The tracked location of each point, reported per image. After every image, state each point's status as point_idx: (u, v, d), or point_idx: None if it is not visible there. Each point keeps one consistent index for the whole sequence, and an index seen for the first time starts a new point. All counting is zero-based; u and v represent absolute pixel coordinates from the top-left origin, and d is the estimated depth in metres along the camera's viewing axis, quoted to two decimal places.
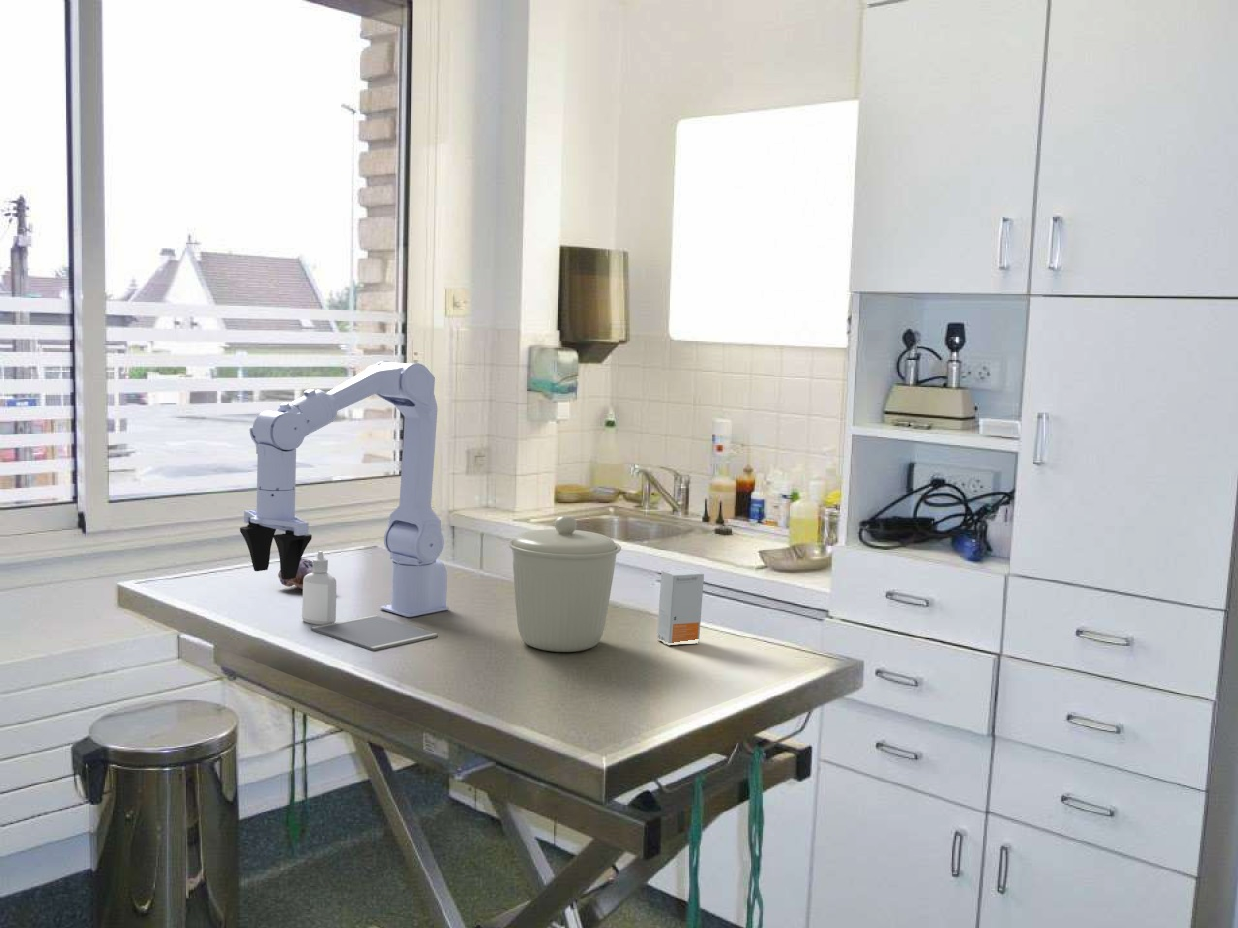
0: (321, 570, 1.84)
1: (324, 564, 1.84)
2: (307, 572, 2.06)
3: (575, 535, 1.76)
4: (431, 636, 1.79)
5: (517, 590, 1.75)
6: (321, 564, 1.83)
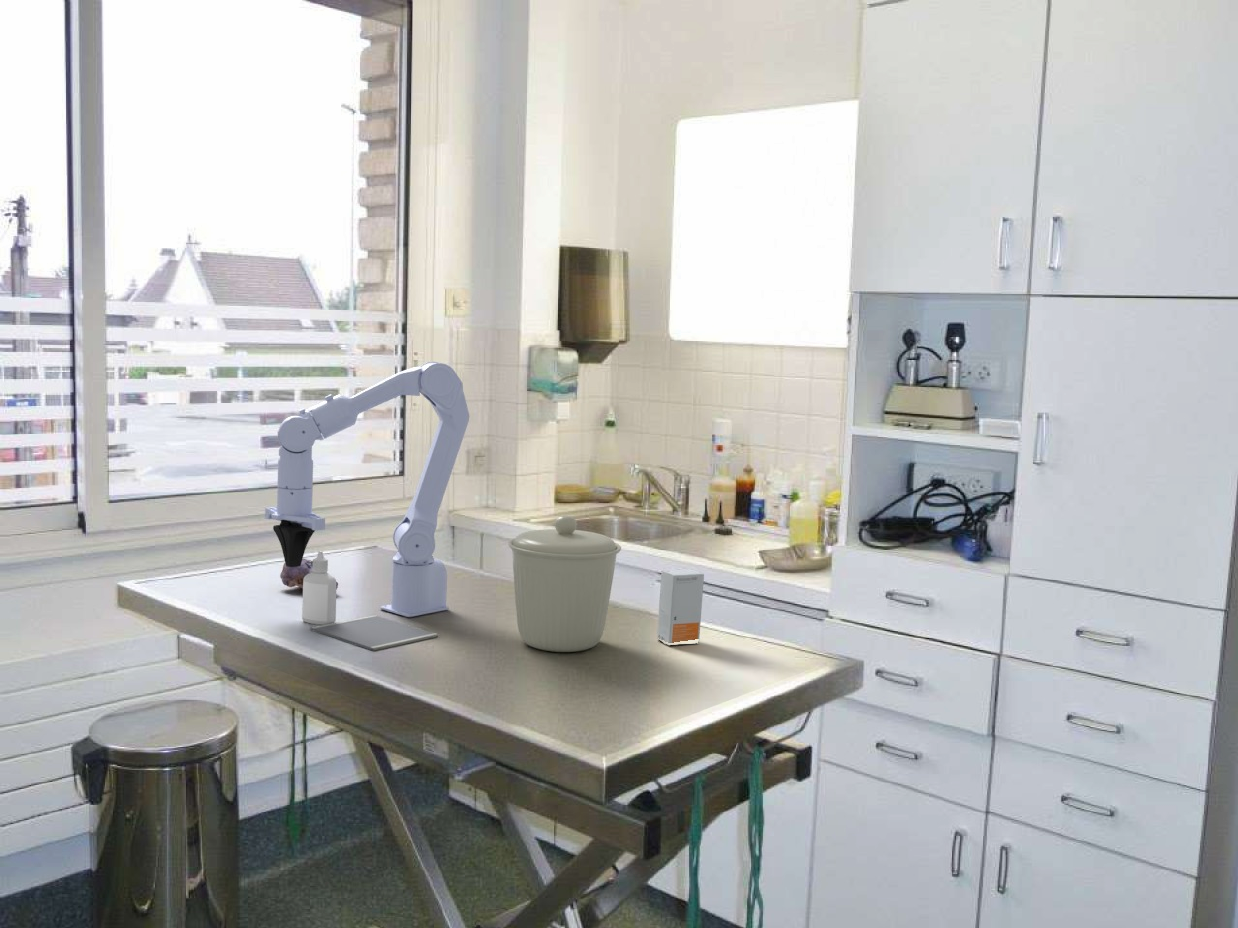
0: (321, 570, 1.84)
1: (324, 564, 1.84)
2: (309, 573, 2.05)
3: (575, 535, 1.76)
4: (431, 636, 1.79)
5: (517, 590, 1.75)
6: (321, 564, 1.83)
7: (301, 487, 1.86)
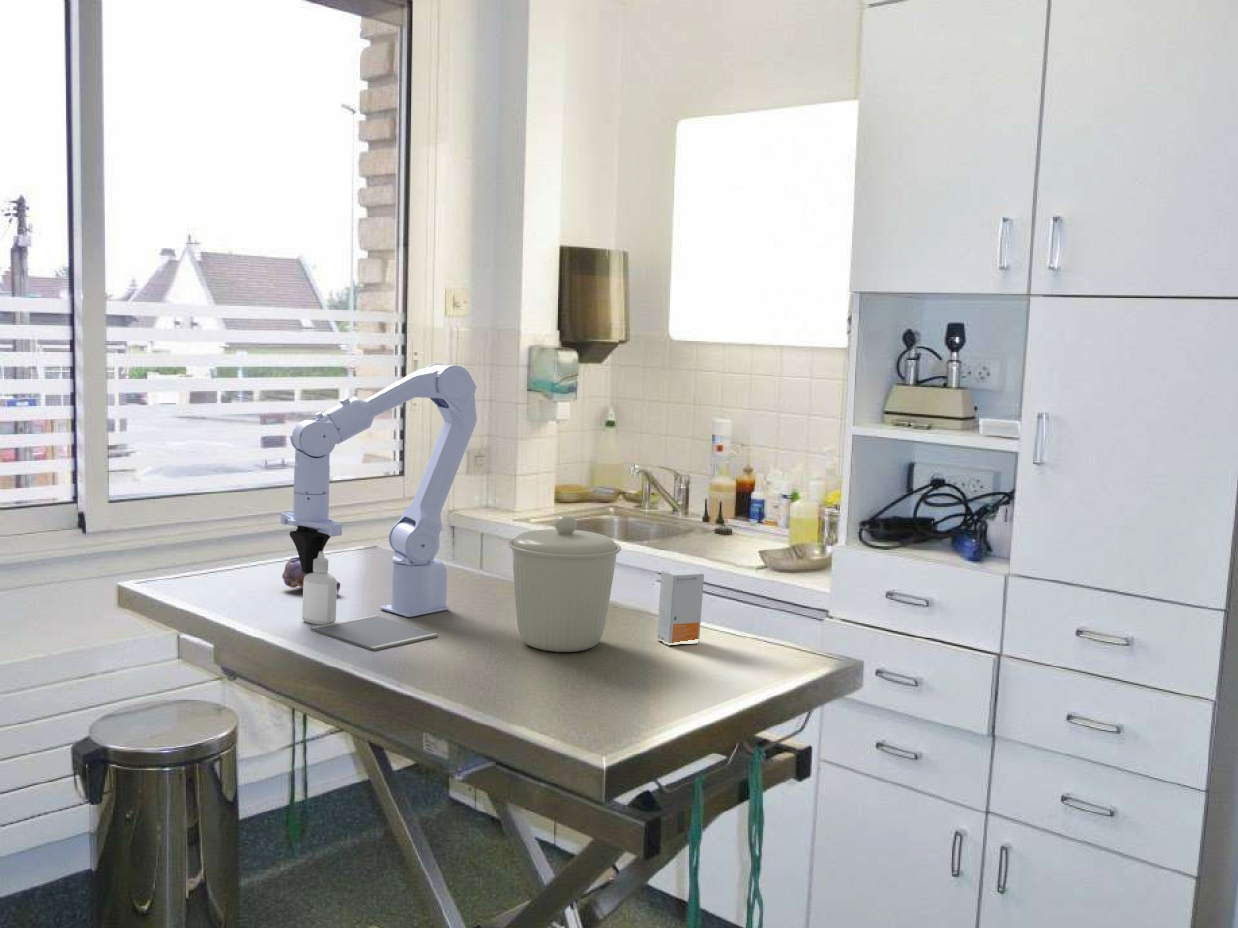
0: (321, 570, 1.83)
1: (324, 565, 1.84)
2: None
3: (575, 535, 1.76)
4: (431, 636, 1.79)
5: (517, 590, 1.75)
6: (321, 564, 1.83)
7: (321, 492, 1.83)
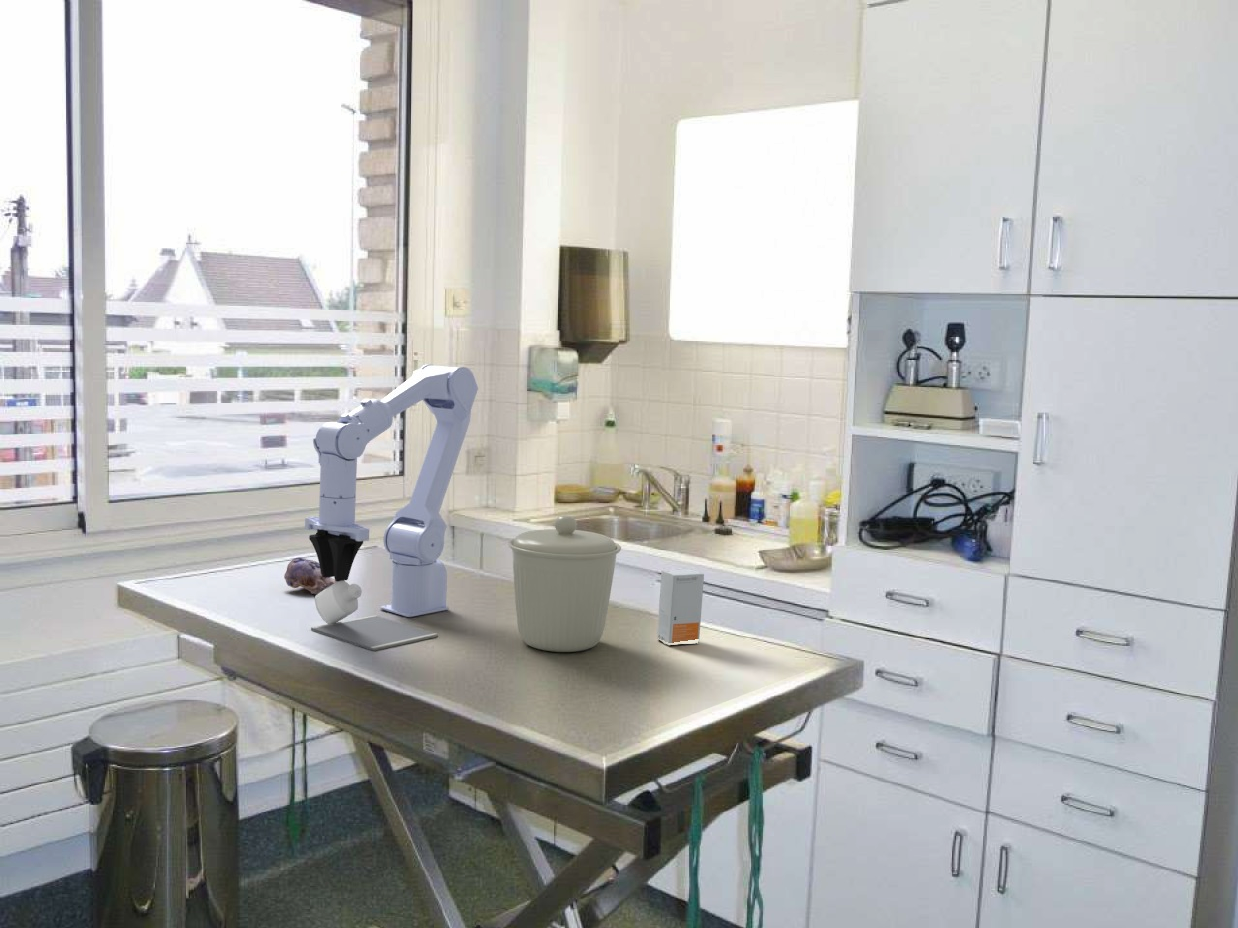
0: (349, 600, 1.78)
1: (354, 599, 1.77)
2: (313, 573, 2.05)
3: (575, 535, 1.76)
4: (431, 636, 1.79)
5: (517, 590, 1.75)
6: (351, 598, 1.77)
7: (353, 495, 1.80)
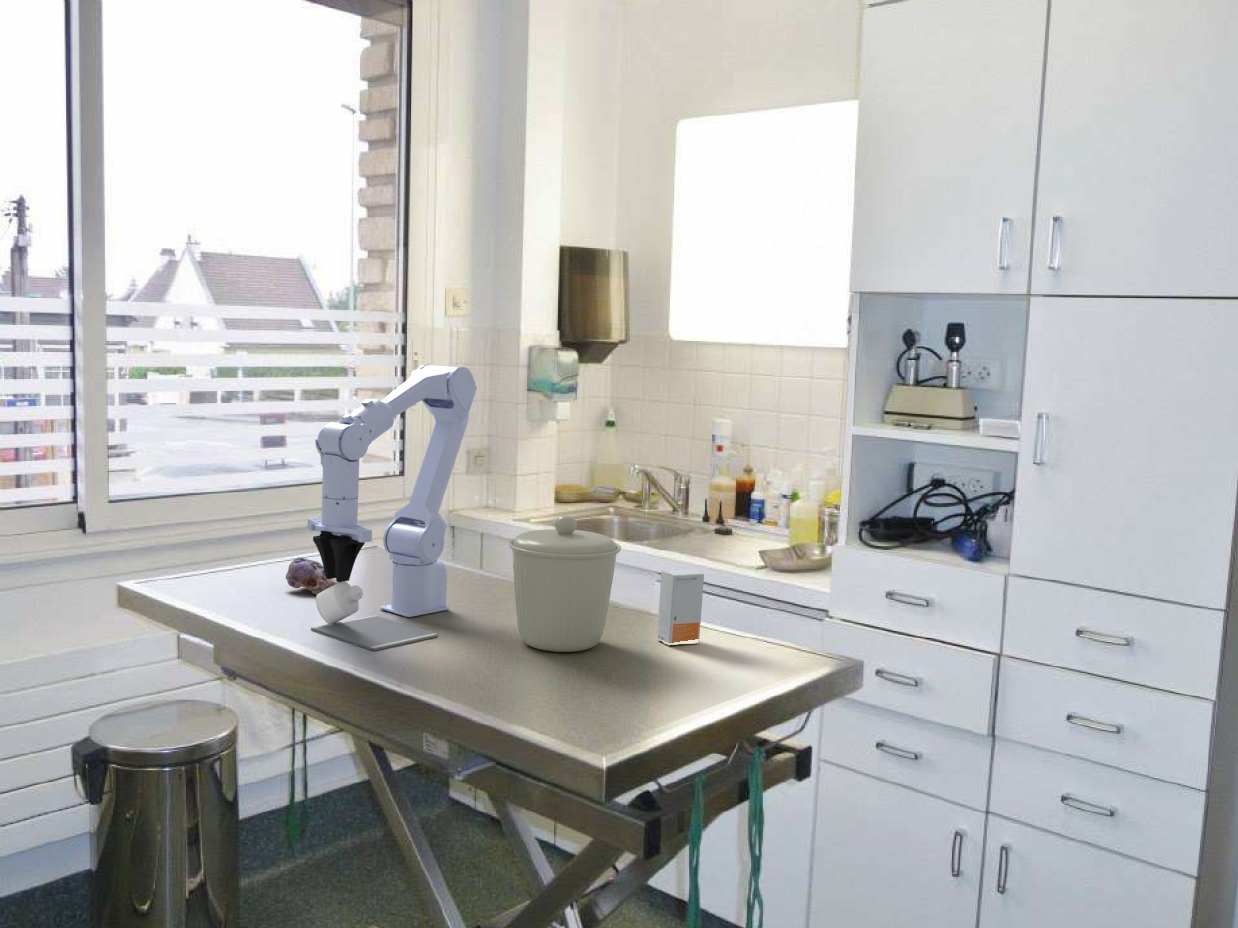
0: (349, 601, 1.78)
1: (354, 601, 1.77)
2: (315, 574, 2.05)
3: (575, 535, 1.76)
4: (431, 636, 1.79)
5: (517, 590, 1.75)
6: (352, 600, 1.77)
7: (356, 496, 1.79)
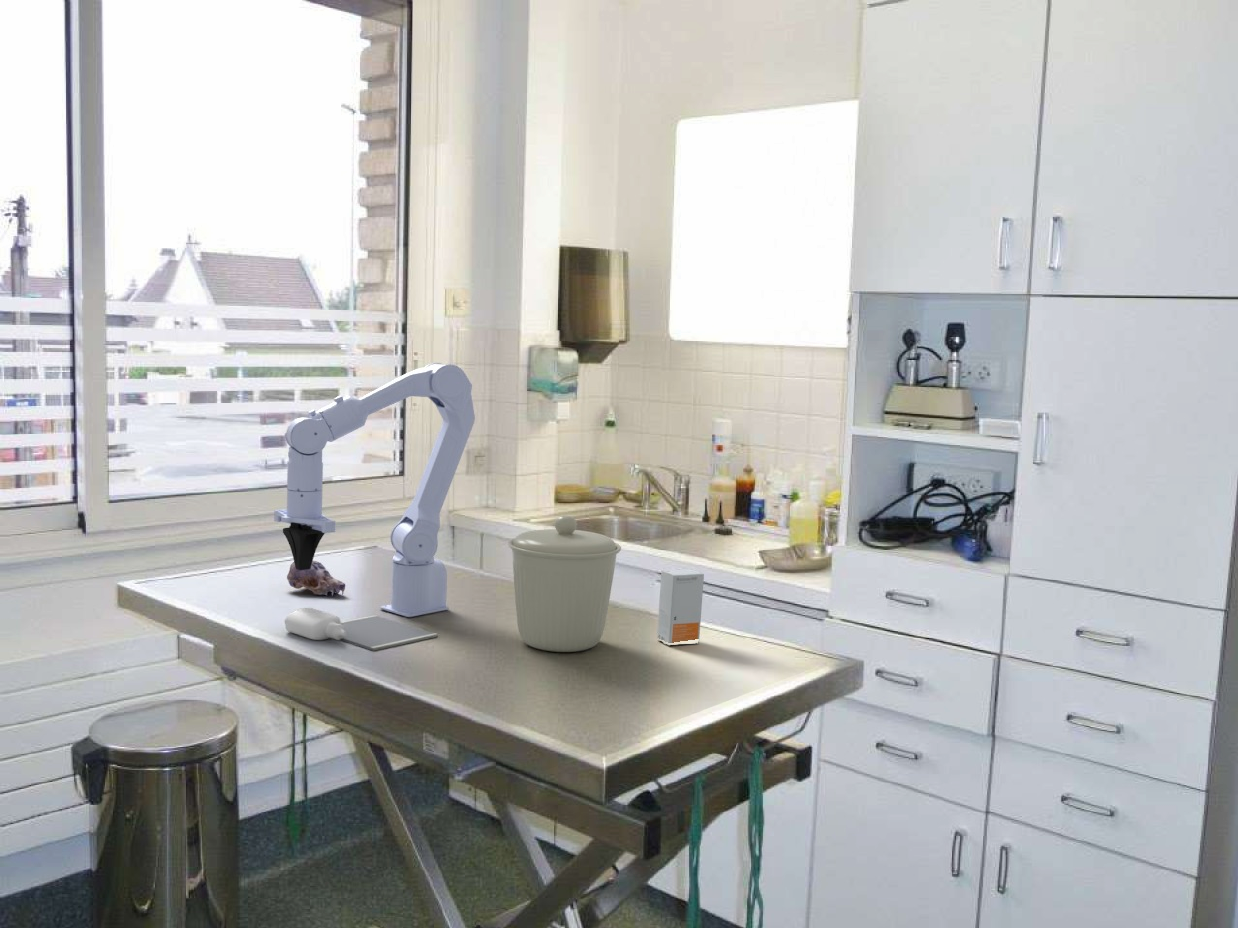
0: None
1: None
2: (316, 574, 2.05)
3: (575, 535, 1.76)
4: (431, 636, 1.79)
5: (517, 590, 1.75)
6: None
7: (313, 489, 1.84)
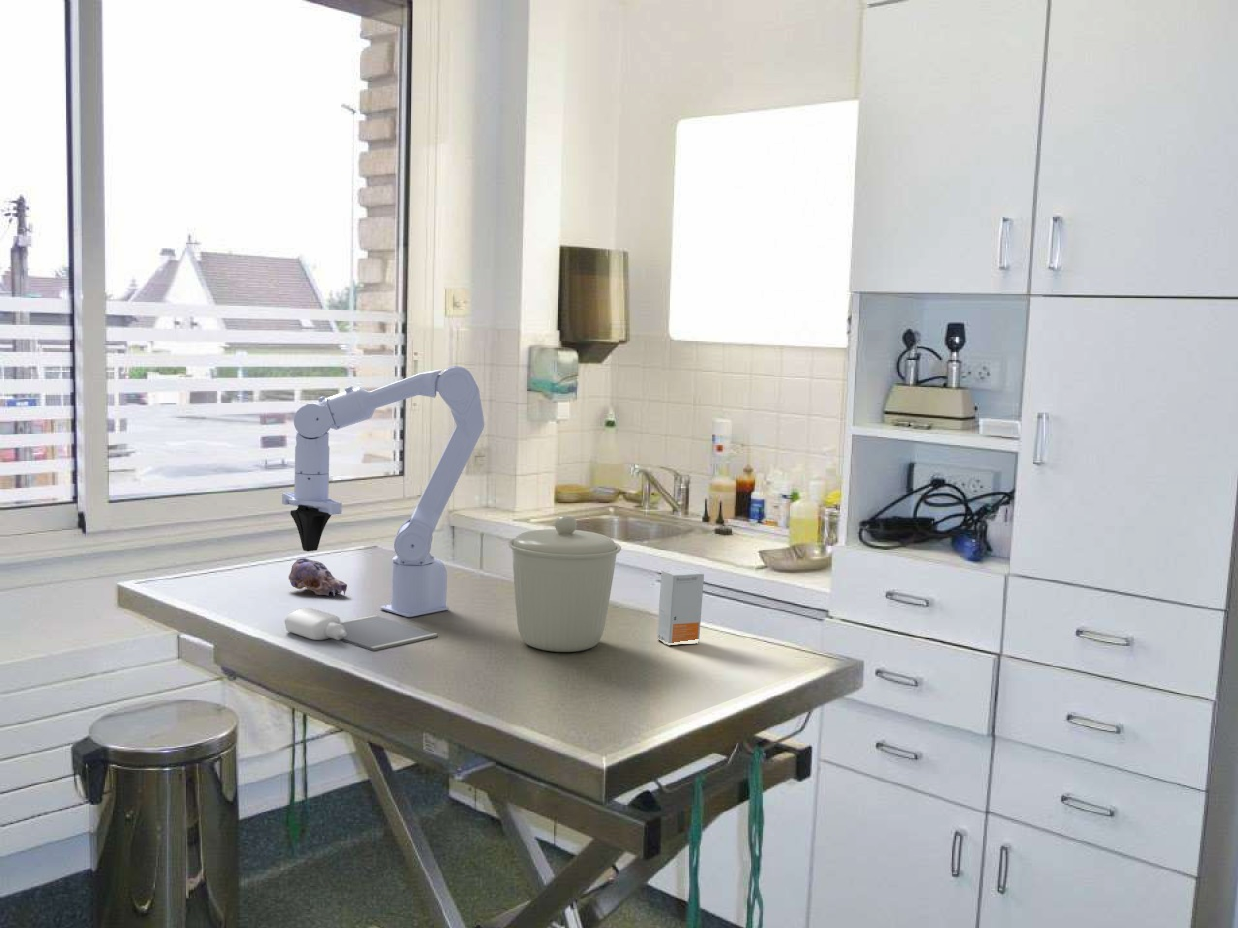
0: None
1: None
2: (318, 574, 2.04)
3: (575, 535, 1.76)
4: (431, 636, 1.79)
5: (517, 590, 1.75)
6: None
7: (315, 472, 1.89)
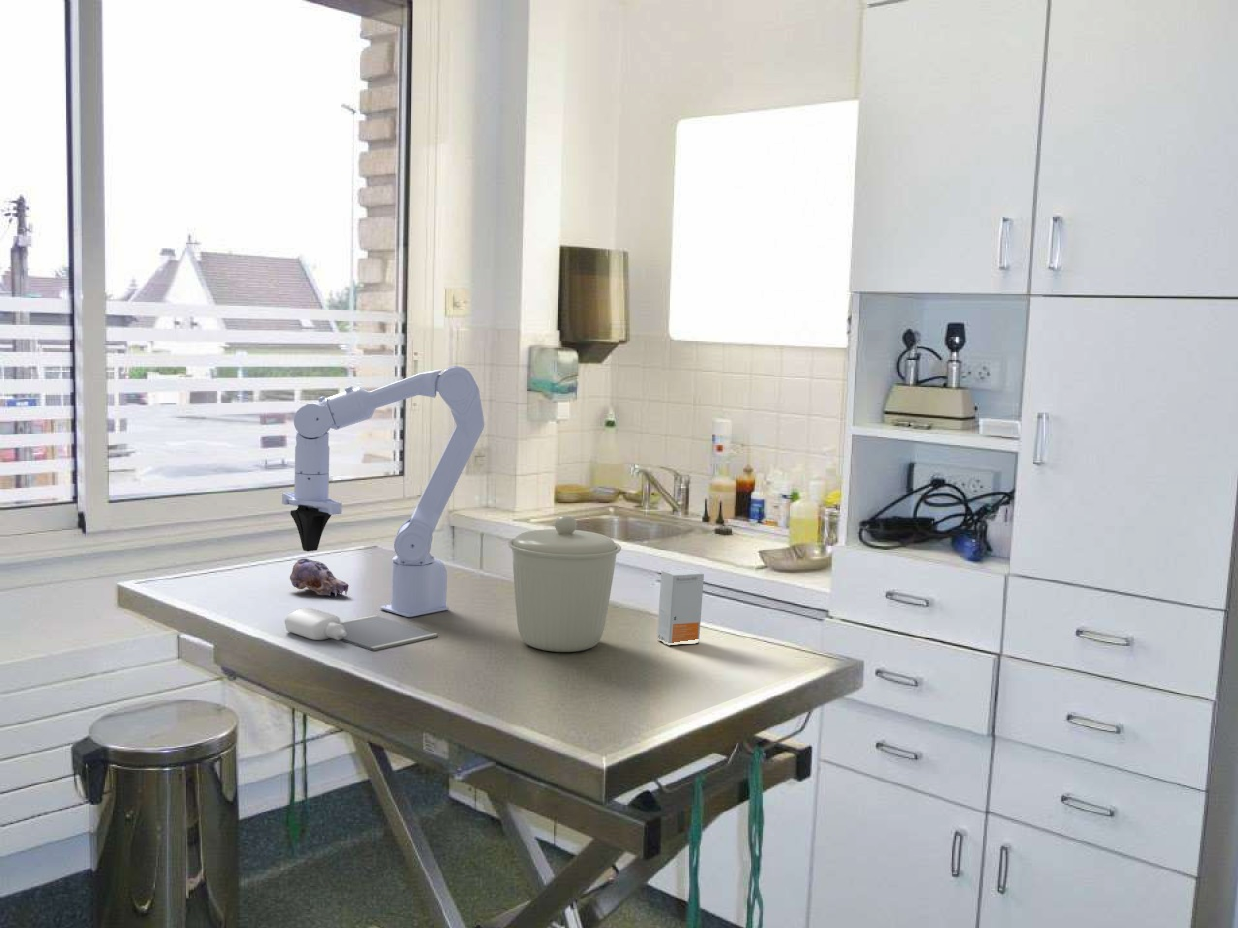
0: None
1: None
2: (319, 574, 2.04)
3: (575, 535, 1.76)
4: (431, 636, 1.79)
5: (517, 590, 1.75)
6: None
7: (315, 472, 1.89)
